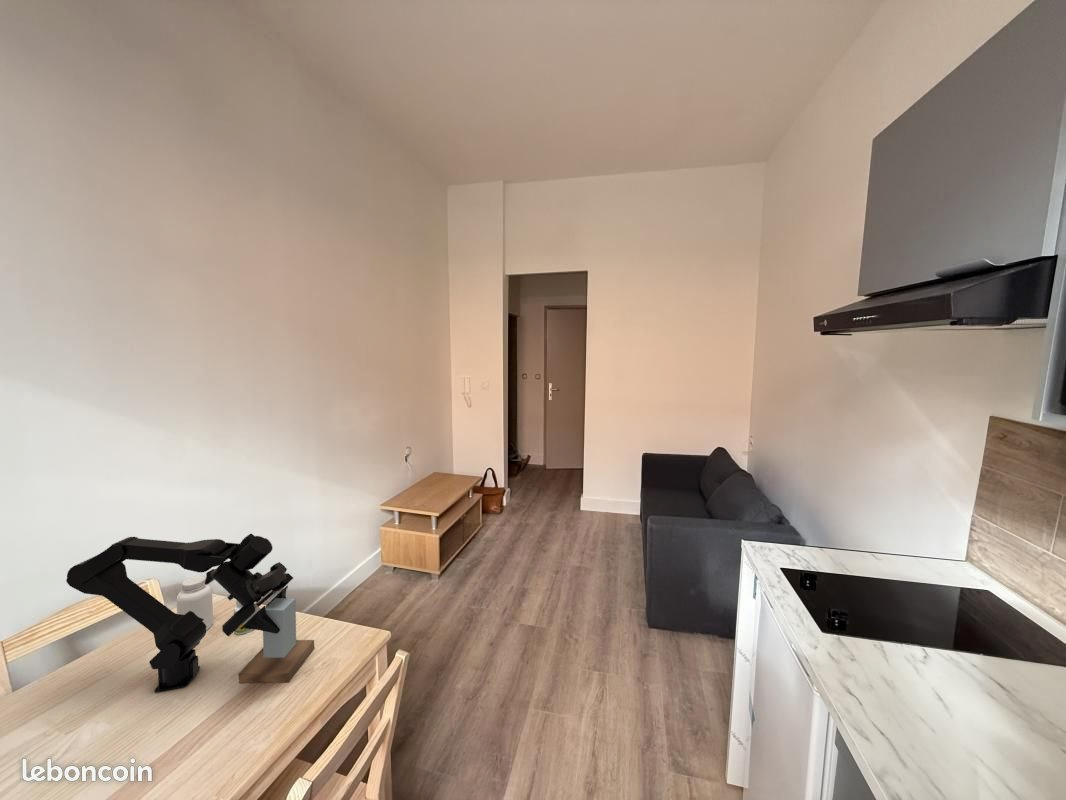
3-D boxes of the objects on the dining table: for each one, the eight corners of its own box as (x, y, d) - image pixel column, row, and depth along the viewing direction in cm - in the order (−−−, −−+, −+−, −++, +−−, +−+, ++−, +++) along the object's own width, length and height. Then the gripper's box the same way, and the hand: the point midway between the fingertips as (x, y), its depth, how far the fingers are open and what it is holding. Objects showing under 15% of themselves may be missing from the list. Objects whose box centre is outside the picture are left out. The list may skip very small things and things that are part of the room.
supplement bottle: (245, 636, 113) (243, 603, 112) (229, 633, 114) (228, 601, 113) (261, 624, 118) (260, 593, 117) (246, 622, 119) (245, 591, 118)
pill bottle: (183, 641, 110) (181, 590, 109) (173, 631, 114) (171, 582, 113) (218, 626, 117) (216, 578, 116) (207, 617, 121) (205, 570, 120)
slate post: (263, 657, 95) (262, 610, 94) (276, 643, 100) (275, 598, 99) (284, 657, 95) (283, 610, 95) (296, 643, 100) (295, 598, 100)
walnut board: (238, 683, 96) (238, 673, 96) (270, 649, 108) (269, 640, 108) (288, 682, 96) (288, 672, 96) (314, 648, 108) (314, 639, 108)
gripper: (234, 579, 87) (285, 627, 88) (285, 543, 106) (327, 583, 106) (199, 613, 87) (250, 660, 88) (256, 571, 106) (298, 610, 107)
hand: (285, 625), depth 97 cm, fingers closed on slate post, 5 cm apart
